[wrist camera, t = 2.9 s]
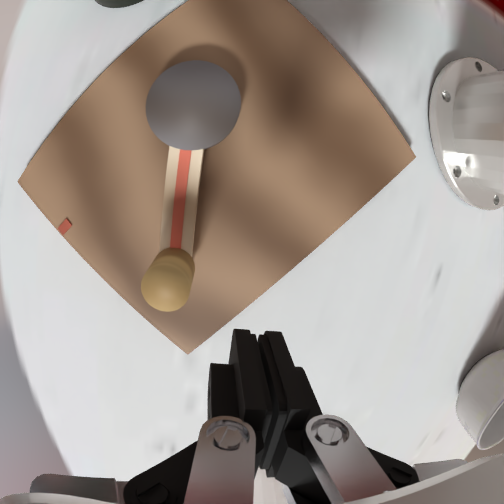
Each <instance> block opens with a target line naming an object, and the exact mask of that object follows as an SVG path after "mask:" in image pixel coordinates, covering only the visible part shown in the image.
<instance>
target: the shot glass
mask: <svg viewBox="0 0 504 504" xmlns="http://www.w3.org/2000/svg"><path fill="white" fill-rule="evenodd" d="M253 504H288V502H287V500H286V498H285V495H284V493H283V490H282V483H281V482H279V481H278V480H276V479H275V477H269V478H267V476H266V471H265V469H260V467H258V470H257V473H256V476H255V479H254V497H253Z"/></svg>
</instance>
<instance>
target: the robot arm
mask: <svg viewBox="0 0 504 504" xmlns="http://www.w3.org/2000/svg"><path fill="white" fill-rule="evenodd" d="M429 122H430V133H431V139H432V143H433V148H434V152H435V155H436V158H437V161H438V164H439V167H440V169H441V171H442V173H443V175H444V177H445V179H446V181H447V183H448V184H449V185H450V187H451V188H452V190H453V191H454V192H455V193H456V194H457V195H458V196H459V198H460V199H461V200H463V201H464V202H466V203H468V204H469V205H471V206H474V207H477V208H480V209H485V210H495V209H498V208H500V207H502V206H504V70H503V71H498V70H497V69H496V68H494V67H493V66H492V65H490V64H489V63H487V62H485V61H483V60H481V59H478V58H472V57H467V58H461V59H458V60H455V61H452V62H450V63H449V64H447V65H446V66H445V67H444V68H443V69H442V70H441V72H440V73H439V75H438V76H437V78H436V80H435V83H434V86H433V88H432V93H431V98H430V108H429ZM258 467H260V469H265V471H266V476H267V478H269V477H275V479H276V480H278V481H279V482H281V483H282V490H283V493H284V495H285V498H286V500H287V502H288V504H504V454H497V455H493V456H488V457H484V458H480V459H477V460H474V461H472V462H470V463H468V462H467V461H465V460H462V459H453V460H446V461H439V462H430V463H421V464H414V465H413V467H411V466H410V465H408V464H406V463H404V462H401V461H399V460H396V459H394V458H391V457H389V456H387V455H384V454H382V453H379V452H377V451H375V450H372V449H370V448H368V447H366V446H365V444H364V443H363V442H362V440H361V439H360V438H359V436H358V435H357V433H356V432H355V430H354V429H353V428H352V426H351V425H350V424H349V423H348V422H347V421H345V420H344V419H342V418H340V417H337V416H334V415H323V414H322V412H321V409H320V407H319V405H318V402H317V400H316V398H315V395H314V393H313V390H312V388H311V386H310V383H309V381H308V378H307V376H306V374H305V371H304V369H303V368H302V367H295V366H294V363H293V361H292V358H291V356H290V353H289V350H288V348H287V345H286V343H285V340H284V337H283V335H282V333H281V332H277V331H265V333H264V335H259V337H258V342H257V339H256V335H255V334H251V333H250V330H244V329H234V330H233V335H232V342H231V350H230V357H229V364H216V363H211V364H210V371H209V382H208V420H207V421H206V422H205V423H204V424H203V426H202V428H201V430H200V434H199V438H198V440H197V441H196V442H194V443H193V444H191V445H189V446H188V447H186V448H185V449H183V450H181V451H180V452H178V453H176V454H175V455H173V456H171V457H170V458H168V459H166V460H164V461H163V462H161V463H159V464H157V465H156V466H154V467H152V468H150V469H148V470H147V471H145V472H143V473H141V474H139V475H137V476H135V477H134V478H132V479H131V480H130V481H116V480H115V478H91V477H78V476H66V475H58V474H42V475H40V476H37V477H36V478H35V479H34V480H33V481H32V484H31V487H30V493H20V494H12V495H8V496H5V497H3V498H1V499H0V504H253V497H254V479H255V476H256V473H257V470H258Z"/></svg>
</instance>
